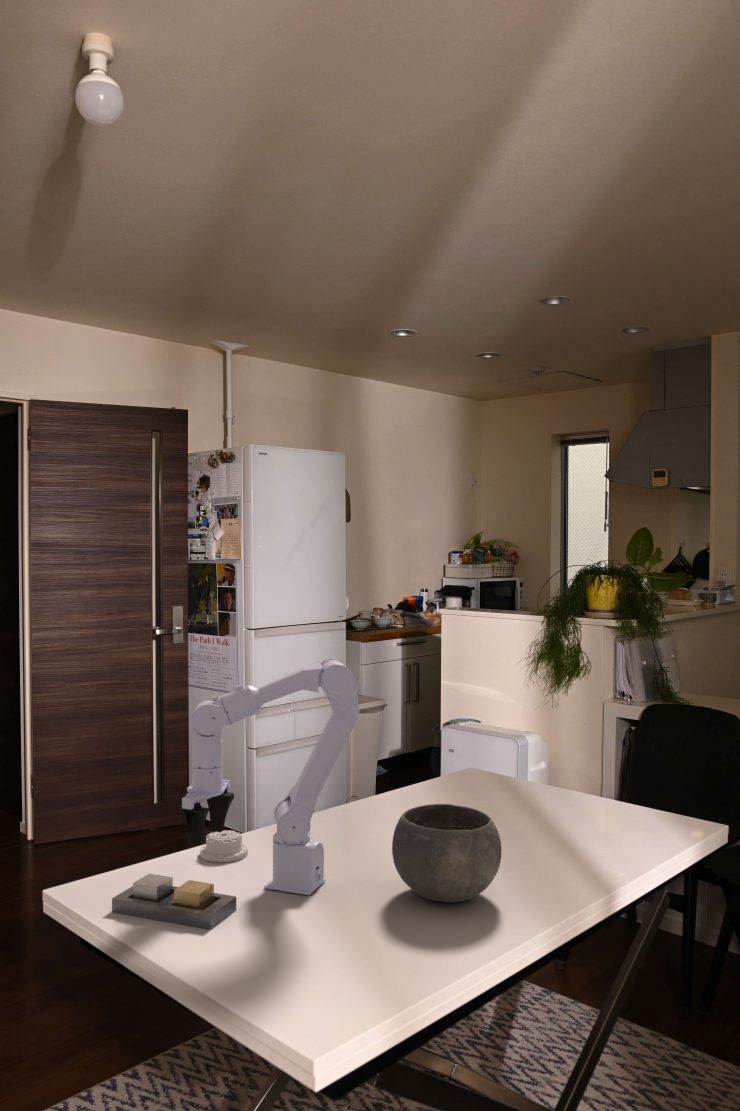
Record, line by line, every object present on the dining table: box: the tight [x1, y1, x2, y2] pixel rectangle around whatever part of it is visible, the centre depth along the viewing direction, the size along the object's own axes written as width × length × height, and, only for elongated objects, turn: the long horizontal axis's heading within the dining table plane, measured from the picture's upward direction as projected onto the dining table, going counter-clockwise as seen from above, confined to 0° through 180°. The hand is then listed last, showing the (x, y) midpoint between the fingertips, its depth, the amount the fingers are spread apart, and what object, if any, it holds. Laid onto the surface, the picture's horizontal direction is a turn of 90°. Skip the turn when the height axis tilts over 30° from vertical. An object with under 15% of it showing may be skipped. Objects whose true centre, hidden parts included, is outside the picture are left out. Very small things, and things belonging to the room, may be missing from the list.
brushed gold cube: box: [174, 879, 215, 911], centre depth 160 cm, size 5×5×5 cm
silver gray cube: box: [132, 873, 174, 903], centre depth 163 cm, size 5×5×5 cm
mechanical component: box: [199, 829, 249, 863], centre depth 191 cm, size 10×4×10 cm
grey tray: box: [111, 885, 237, 930], centre depth 161 cm, size 20×9×2 cm, turn 70°
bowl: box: [391, 803, 502, 903], centre depth 169 cm, size 20×20×15 cm
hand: (206, 837), depth 171 cm, fingers open, 7 cm apart
